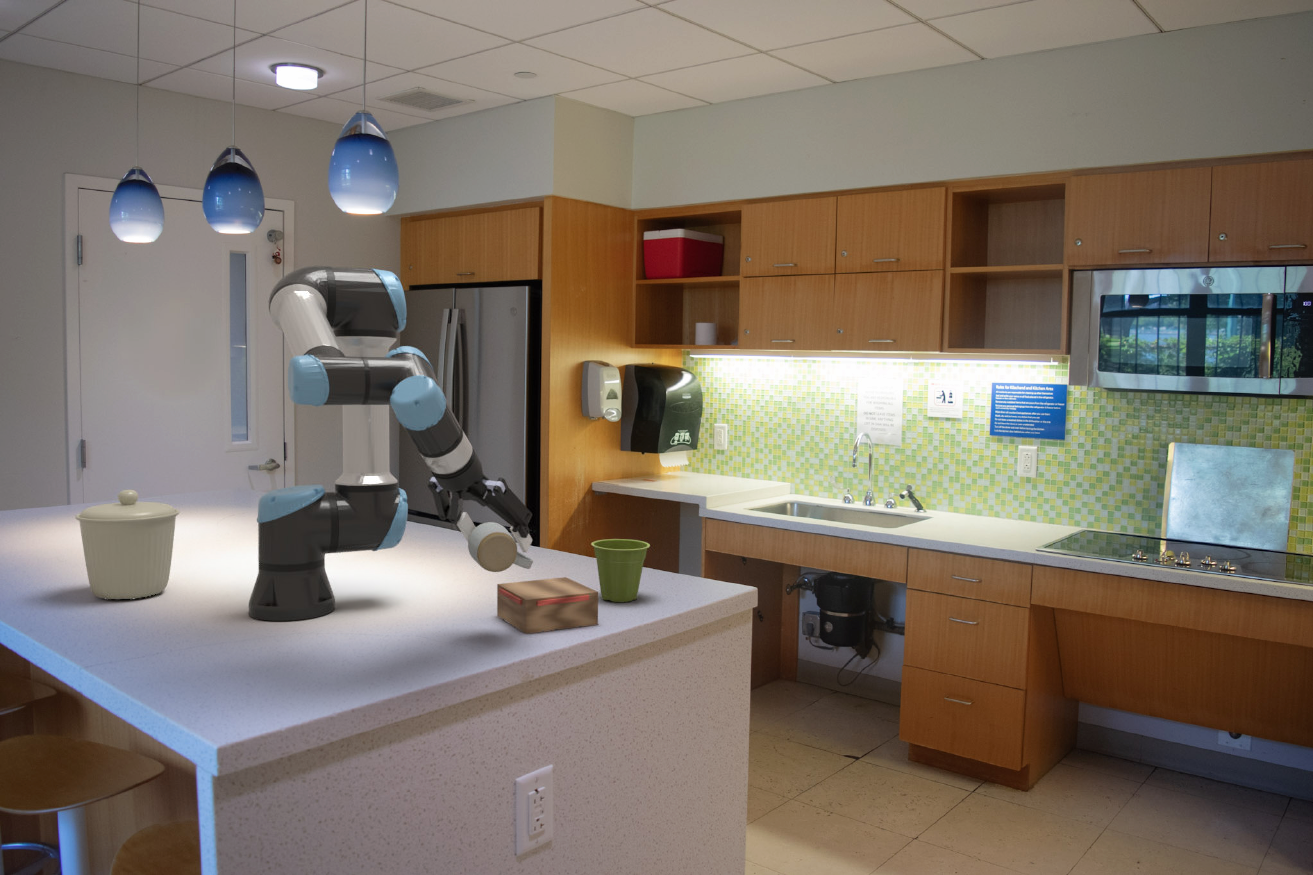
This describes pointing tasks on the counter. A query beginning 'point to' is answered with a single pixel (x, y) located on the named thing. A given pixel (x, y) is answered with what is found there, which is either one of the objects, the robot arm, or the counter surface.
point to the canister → (128, 546)
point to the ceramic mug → (495, 548)
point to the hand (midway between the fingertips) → (501, 543)
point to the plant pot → (620, 567)
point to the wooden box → (547, 604)
